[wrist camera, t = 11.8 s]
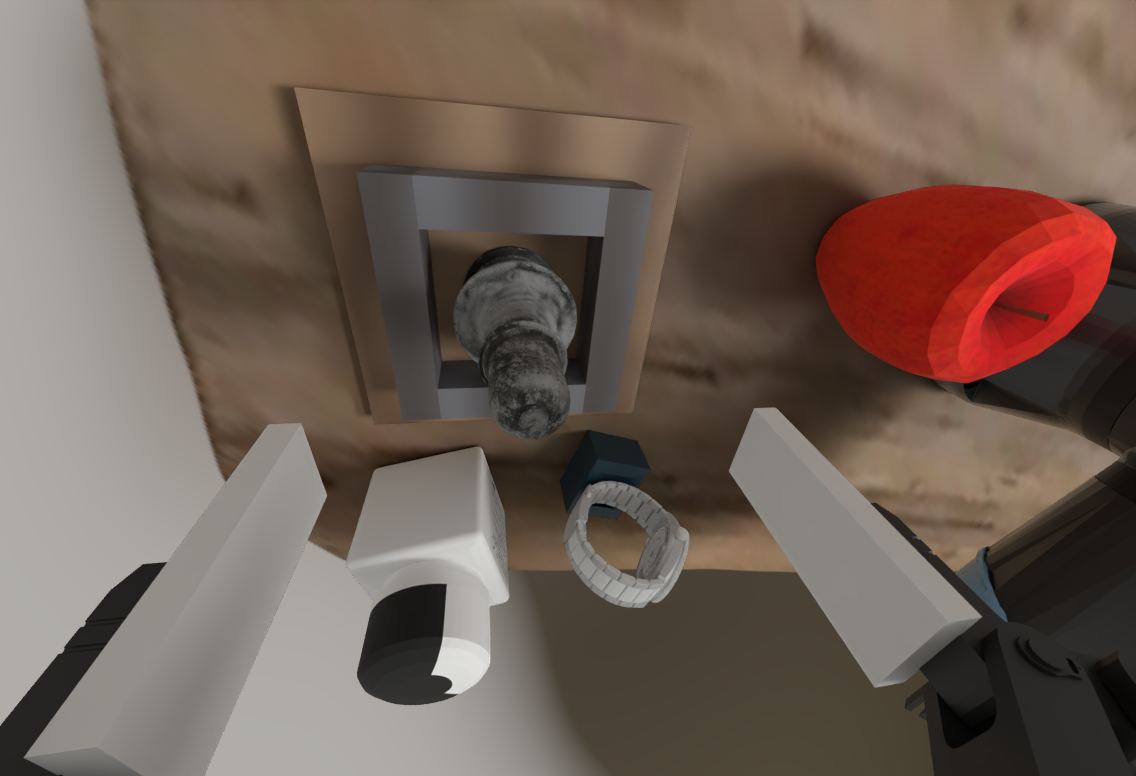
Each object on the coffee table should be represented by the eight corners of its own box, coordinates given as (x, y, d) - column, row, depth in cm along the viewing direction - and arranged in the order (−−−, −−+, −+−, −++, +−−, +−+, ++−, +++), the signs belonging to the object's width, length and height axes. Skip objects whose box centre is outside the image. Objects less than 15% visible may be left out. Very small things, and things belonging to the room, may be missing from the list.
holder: (683, 125, 20) (723, 127, 17) (628, 404, 29) (646, 441, 26) (303, 88, 17) (259, 82, 13) (377, 414, 26) (362, 457, 23)
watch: (626, 492, 35) (676, 624, 26) (539, 477, 32) (561, 620, 23) (658, 444, 32) (726, 573, 23) (567, 424, 29) (604, 560, 20)
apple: (779, 330, 28) (916, 430, 19) (781, 200, 23) (969, 255, 14) (903, 286, 28) (1099, 367, 19) (932, 145, 23) (1220, 165, 14)
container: (411, 532, 33) (377, 732, 22) (372, 466, 28) (307, 676, 18) (505, 511, 33) (516, 695, 23) (481, 442, 29) (481, 633, 18)
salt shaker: (532, 217, 20) (581, 316, 10) (581, 312, 23) (654, 454, 14) (433, 275, 21) (391, 418, 11) (495, 359, 24) (504, 526, 14)
